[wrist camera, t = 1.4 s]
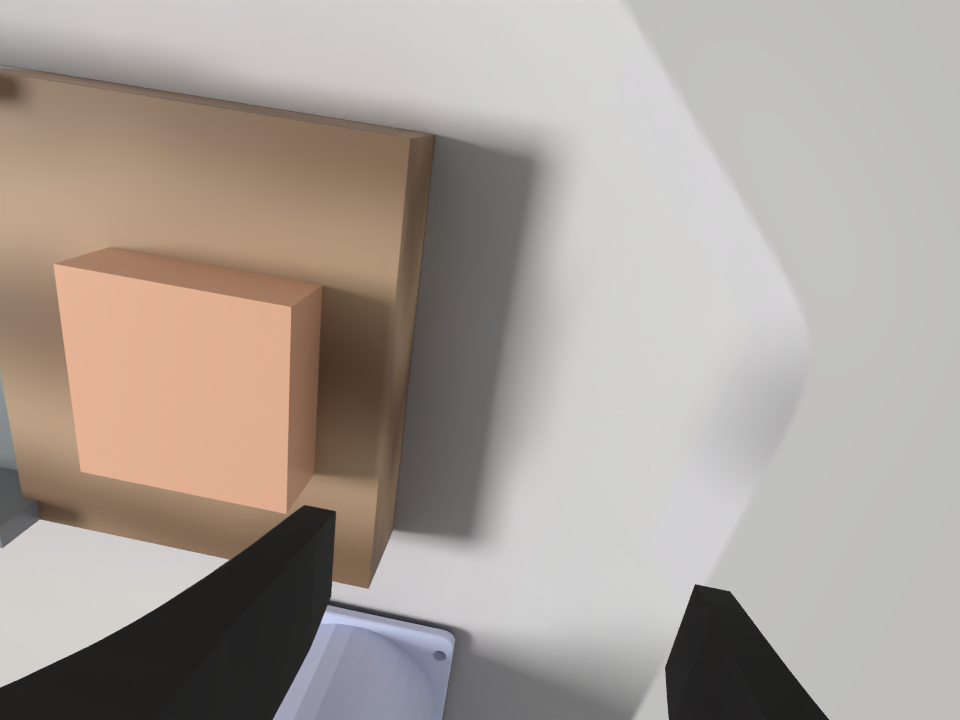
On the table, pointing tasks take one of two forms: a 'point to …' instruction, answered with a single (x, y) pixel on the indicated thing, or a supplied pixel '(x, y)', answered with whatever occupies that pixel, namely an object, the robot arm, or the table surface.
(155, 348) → the terracotta tile
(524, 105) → the table surface
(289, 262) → the walnut plate
